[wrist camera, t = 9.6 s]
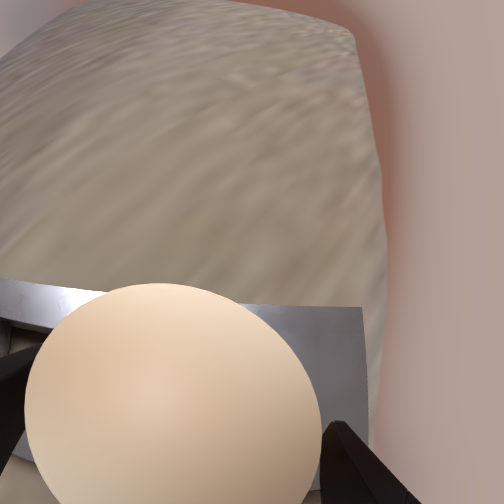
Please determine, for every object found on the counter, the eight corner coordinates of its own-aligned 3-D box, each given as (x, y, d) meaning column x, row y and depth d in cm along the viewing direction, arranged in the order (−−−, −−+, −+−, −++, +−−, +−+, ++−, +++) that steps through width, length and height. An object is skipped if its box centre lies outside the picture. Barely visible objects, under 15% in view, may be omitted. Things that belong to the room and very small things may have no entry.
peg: (224, 438, 15) (297, 567, 2) (154, 425, 14) (20, 507, 2) (233, 372, 17) (333, 310, 4) (164, 360, 16) (59, 258, 4)
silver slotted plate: (340, 320, 19) (364, 305, 16) (343, 470, 15) (369, 480, 12) (-36, 282, 15) (-60, 265, 12) (-51, 407, 11) (-79, 403, 8)
